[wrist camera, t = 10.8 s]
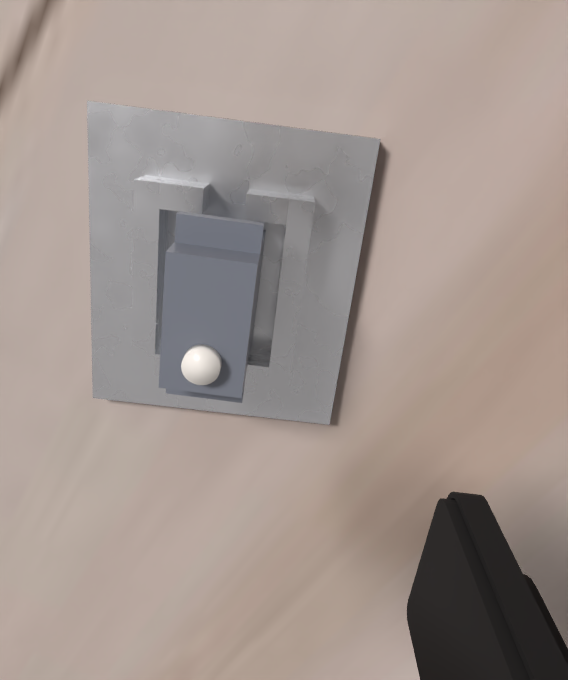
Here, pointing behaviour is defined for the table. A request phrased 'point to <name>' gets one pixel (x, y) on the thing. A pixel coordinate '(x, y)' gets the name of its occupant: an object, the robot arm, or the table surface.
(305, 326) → the plate
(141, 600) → the table surface
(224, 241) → the block
